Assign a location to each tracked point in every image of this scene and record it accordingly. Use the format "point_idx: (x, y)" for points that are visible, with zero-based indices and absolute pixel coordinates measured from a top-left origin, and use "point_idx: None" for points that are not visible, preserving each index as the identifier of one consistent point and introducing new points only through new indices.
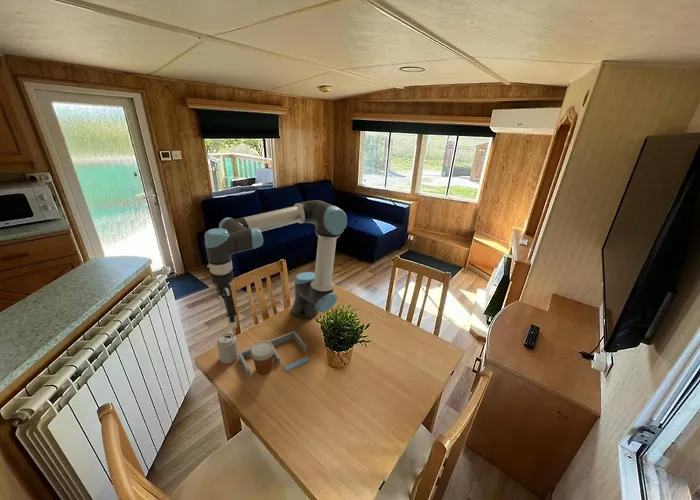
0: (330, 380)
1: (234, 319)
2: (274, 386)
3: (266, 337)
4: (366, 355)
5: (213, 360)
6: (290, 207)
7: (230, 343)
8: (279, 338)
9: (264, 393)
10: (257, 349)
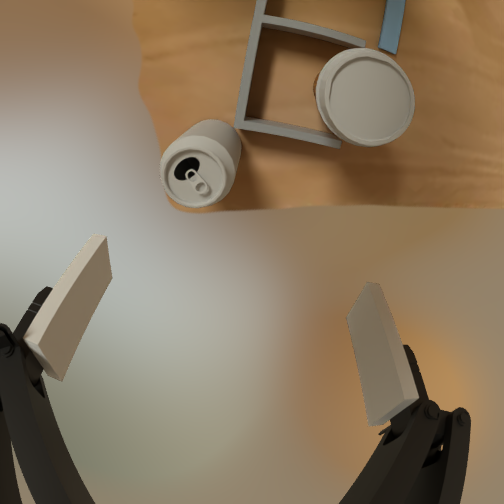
0: (482, 25)
1: (418, 368)
2: None
3: (203, 7)
4: None
5: None
6: None
7: (229, 172)
8: None
9: (404, 143)
10: (357, 114)
